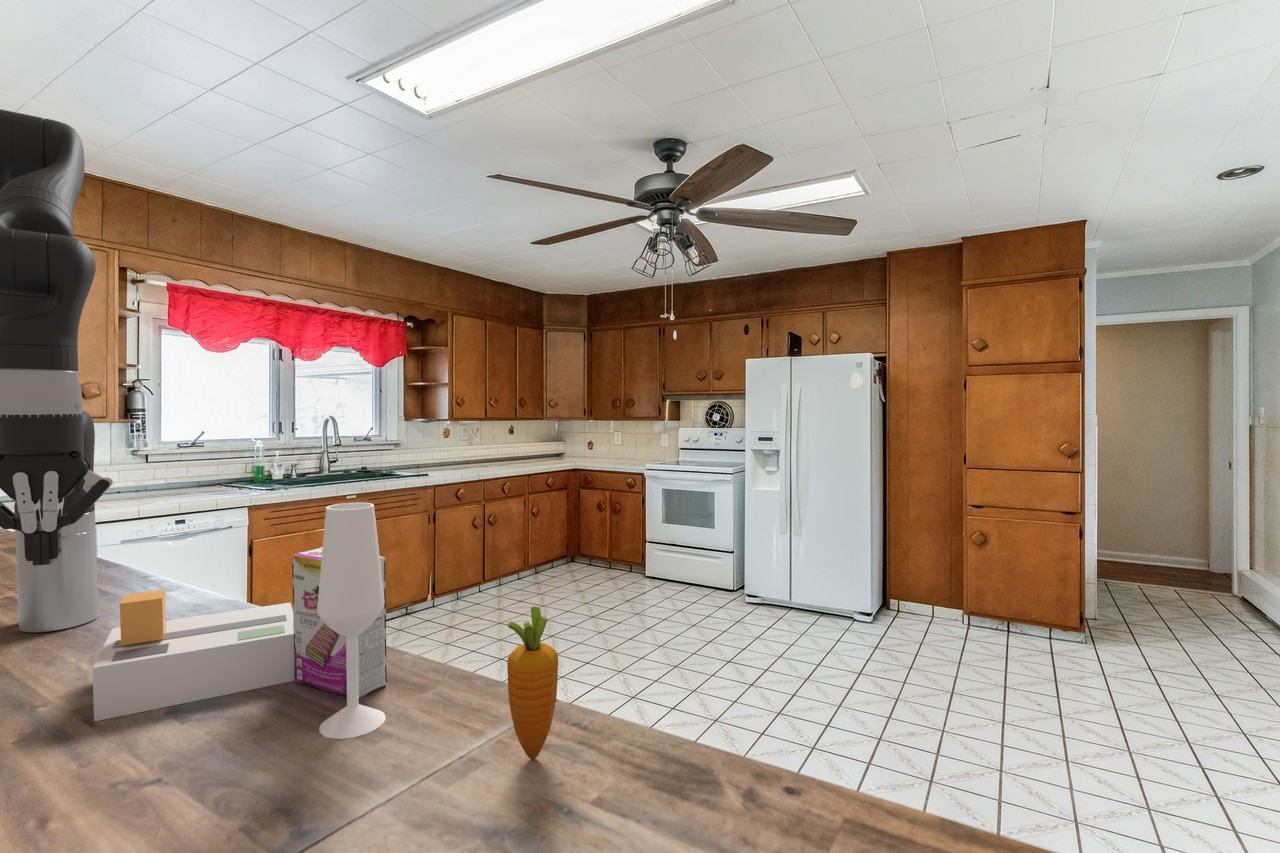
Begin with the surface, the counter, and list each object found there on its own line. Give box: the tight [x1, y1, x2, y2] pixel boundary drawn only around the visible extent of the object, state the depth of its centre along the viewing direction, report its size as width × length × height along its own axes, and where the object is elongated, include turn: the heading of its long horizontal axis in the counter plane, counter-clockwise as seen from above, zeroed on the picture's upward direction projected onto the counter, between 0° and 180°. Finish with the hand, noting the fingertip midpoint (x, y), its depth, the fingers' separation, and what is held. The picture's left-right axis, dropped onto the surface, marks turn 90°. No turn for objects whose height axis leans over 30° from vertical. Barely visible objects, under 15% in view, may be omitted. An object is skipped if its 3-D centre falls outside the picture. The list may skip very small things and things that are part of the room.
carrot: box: [506, 605, 559, 761], centre depth 63 cm, size 5×5×15 cm
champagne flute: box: [317, 502, 386, 740], centre depth 70 cm, size 7×7×24 cm
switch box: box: [92, 602, 295, 722], centre depth 81 cm, size 14×20×6 cm
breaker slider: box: [119, 589, 167, 646], centre depth 78 cm, size 4×4×5 cm
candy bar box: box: [291, 546, 388, 700], centre depth 79 cm, size 11×5×16 cm, turn 65°
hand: (43, 563), depth 73 cm, fingers closed
